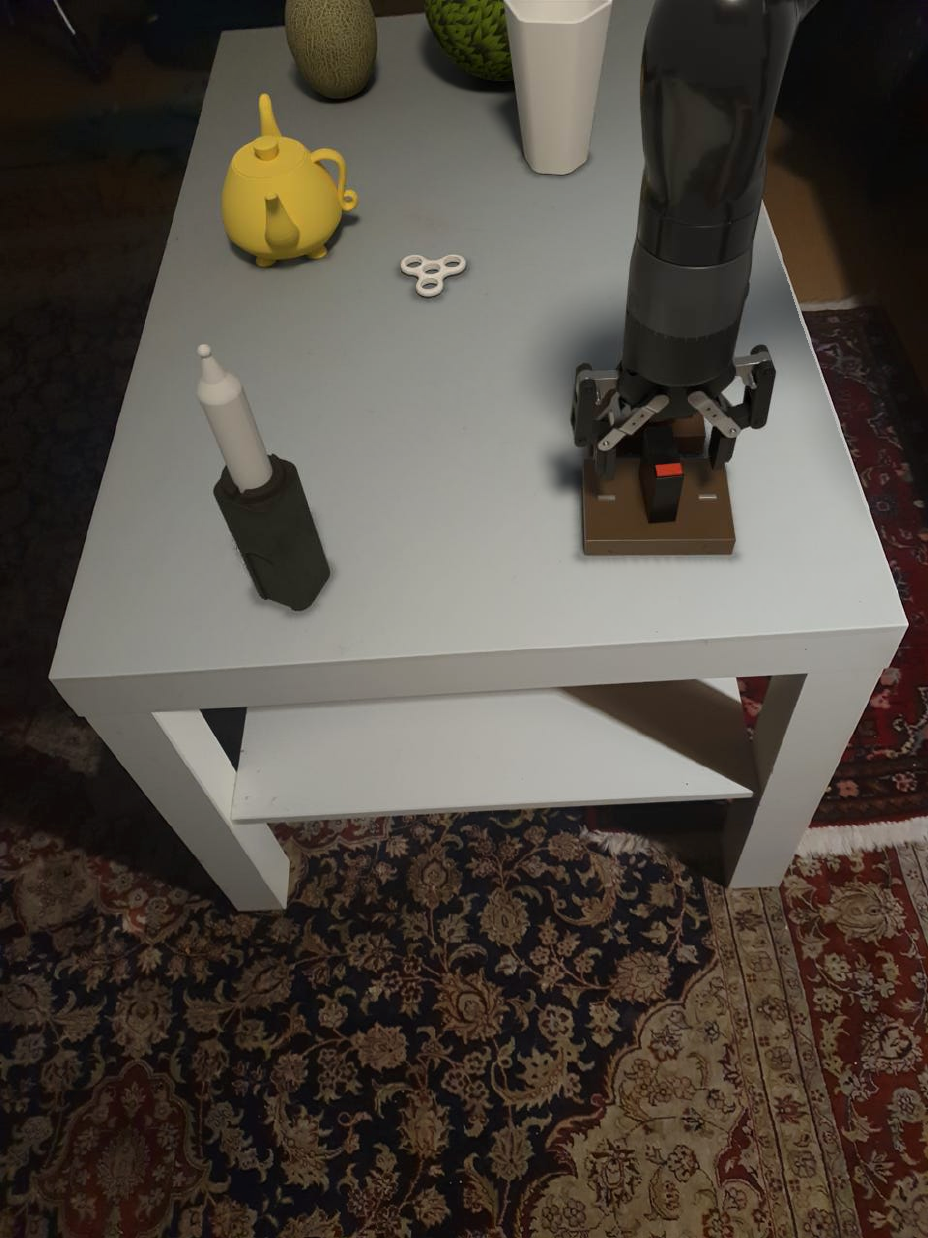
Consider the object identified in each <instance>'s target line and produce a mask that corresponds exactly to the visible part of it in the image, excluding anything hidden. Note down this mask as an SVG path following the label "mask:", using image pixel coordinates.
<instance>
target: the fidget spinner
mask: <svg viewBox="0 0 928 1238" xmlns="http://www.w3.org/2000/svg"><path fill="white" fill-rule="evenodd" d="M451 262H452V263H453V262H454V263H458V265H456V266H453V267H450V266H446V265H447V264H448V263H451ZM411 263H419V264H420V265H418V266H416V267H410V266H408V265H409V264H411ZM466 266H467V262H466V259H465V258H464V257H463V256H461V255H459V254H447V255H445V256H443V257H442V258H439V259H435V260H432V259H427V258H425V256H422V255H419V254H410V255H408V256H405V257H404V258H403V259H402V260H401V261H400V269H401V271H402V272H403V273H404V274H406V275H410V276H414V277H417V278H418V280H417V281H416V283H415V284H416V285H415V289H416V292H417V293H418V295H420V296H423V297H428V298H429V297H430V298H431V297H434V296H437V295H439V294H441V292H442V291H443V289H444V282H443V281H444V279H445V278H447V277H448V276H451V275H452V276H453V275H457V274H460V273H462V272H463V271H464V270H465V269H466ZM430 270H437V272H435V273H426V272H427V271H430ZM427 284H435V285H436V286H435V287H433V288H424V286H425V285H427Z"/></svg>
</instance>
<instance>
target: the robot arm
mask: <svg viewBox="0 0 928 1238" xmlns="http://www.w3.org/2000/svg"><path fill="white" fill-rule="evenodd" d="M819 2H820V0H655V1H654V3H653V5H652V8H651V11H650V13H649V16H648V20H647V24H646V27H645V32H644V36H643V37H644V38H643V44H642V51H641V60H640V70H639V113H640V114H639V115H640V126H641V128H640V129H641V143H642V152H643V157H644V165H643V170H642V175H641V176H642V177H641V182H640V183H641V184H640V192H639V203H638V213H637V225H636V233H635V240H634V244H633V248H632V251H631V256H630V261H629V268H628V280H627V281H628V282H627V294H626V305H625V315H624V316H625V317H624V326H623V327H624V328H623V339H622V340H623V341H622V352H621V357H620V360H619V362H618V363H617V364H616V366H615V368H614V369H604V370H594V369H593V366H592V365H591V364H590V363H588V362H582V363H580V364H578V365H577V366H576V368H575V372H574V373H575V374H574V382H573V390H572V391H573V392H572V398H571V399H572V400H571V401H572V402H571V408H570V418H569V421H570V426H571V429H572V434H573V442H574V446H576V447H577V448H585V447H587V446H589V444H592V445H594V454H593V455H592V459H593V460H594V465H595V470H596V473H597V474H598V475H603V477H604V481H612V480H614V471H615V459H617V457H616V456H617V455H616V446H615V445H616V444H617V443H618V442H619V441H620V440H621V439H622V438H623V437H624V436H625V435H626V434H628V435H632V434H633V433H634V432H635V431H636V430H638V429H639V428H640V427H641V426H642V425H643V424H644V423H645V422H646V421H647V420H648V419H650V422H658V421H663V420H666V419H670V418H677V419H687V418H693V415H694V414H697V413H699V412H700V413H701V414H702V415H703V416H704V419H706V420H707V421H708V422H709V424H710V425H711V426H712V427H711V432H710V437H709V442H708V447H707V456H708V457H709V460H710V464H711V467H712V470H718V469H722V468H723V465H724V463H725V464H726V463H729V462H730V461H731V460H732V459H733V455H734V450H735V446H736V442H737V438H738V436H739V435H740V434H741V432H742V431H743V430H744V429H747V428H751V429H752V430H760V429H762V428H764V427H765V426H766V425H767V423H768V419H769V413H770V407H771V402H772V396H773V391H774V386H775V380H776V376H777V370H776V367H775V364H774V361H773V359H772V356H771V354H770V351H769V348H768V346H767V345H766V344H763V343H762V344H757V345H755V346H753V347H752V348H751V350H750V353H749V354H747V355H740V356H735V351H736V347H737V342H738V337H739V333H740V327H741V323H742V319H743V313H744V309H745V304H746V301H747V299H748V297H749V294H750V288H751V283H750V281H751V275H752V269H753V259H754V258H753V257H754V255H753V254H754V242H755V237H756V231H757V227H758V223H759V217H760V212H761V207H762V203H763V197H764V193H765V186H766V180H767V173H768V171H767V170H768V156H767V144H768V140H769V137H770V131H771V127H772V123H773V118H774V114H775V110H776V105H777V101H778V97H779V95H780V94H779V93H780V90H781V86H782V83H783V82H782V81H783V78H784V74H785V71H786V66H787V63H788V60H789V56H790V52H791V50H792V47H793V43H794V42H795V41H794V40H795V37H796V35H797V32H798V28H799V26H800V24H801V23H802V22H803V20H804V19H805V18H806V16H807V15H808V14H809V13H810V11H812V10H813V8H814V7H815V6H816V5H817V4H818V3H819ZM736 377H740V378H741V382H742V384H743V385H744V391H743V397H742V402H741V403H739V404H735V405H733V404H732V402H730V400H729V399H728V398H727V397H726V396H725V395H724V394H723V391H725V389H727V388H728V387H729V386H730V385H731V384H732V383H733V382H734V380H735V378H736ZM614 388H616V390H617V392H616V393H615V394H614V395H613V396H612V398H611V400H610V404H609V406H608V407H607V408H606V409H605V410H604V411H603V412H602V413H601V414H600V415H599V416H598V417H597V418H596V419H595V420H594V412H595V405H596V404H597V405H599V404H601V403H602V399H603V398H604V397H605V395H606V393H607V392H608V391H609V390H611V389H614ZM630 406H631V407H632V408H633V410H632V411H631V409H630Z"/></svg>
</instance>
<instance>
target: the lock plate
mask: <svg viewBox="0 0 928 1238" xmlns="http://www.w3.org/2000/svg"><path fill="white" fill-rule="evenodd" d="M679 458H680V462H681V466H682V470H683V474H684V480H683V485H682V490H681V495H680V501H679V506H678V511H677V516H676V521H674V522H662V523H651V524H650V523H649V521H648V516H647V511H646V507H645V502H644V497H643V493H642V488H641V483H640V478H639V467H640V459H641V457H638V458H637V457H634V458H633V457H632V458H616V459H615V471H614V480H612V481H604V477H603V475H598V474H597V473H596V470H595V465H594V460H593V458H584V459H582V470H581V471H582V473H581V475H582V477H581V478H582V510H583V511H582V512H583V514H582V515H583V545H584V549H583V551H584V556H698V555H700V556H704V555H705V556H709V555H711V556H713V555H715V556H717V555H719V556H721V555H722V556H724V555H726V556H727V555H731V556H732V554H733V551H734V548H735V544H736V540H737V538H736V531H735V523H734V517H733V510H732V503H731V496H730V489H729V483H728V474H727V469H726V467H727V466H726V462H725V463H724V465H723V468H722V469H718V470H712V467H711V464H710V460H709V457H707V456H706V457H679Z"/></svg>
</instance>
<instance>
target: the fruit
mask: <svg viewBox="0 0 928 1238" xmlns="http://www.w3.org/2000/svg"><path fill="white" fill-rule="evenodd" d="M284 29H285V36H286V42H287V45H288V49H289V53H290V54H291V57H292V58H293V61H294V64H295V66H296V67H297V69H298V71H299V72H300V74H301V75H302V77H303V78H304V80H305V81H306V82H307V83H308V85H310V86H311V87H312V88H313V89H314V90H315V91H316V92H318V93H319V94H321V95H323V96H324V97H327V98H330V99H347V98H349V97H352V96H355V95H356V94H358V93H360V92H361V91H362V90H363V89H364V88H365V86H366V85H367V84H368V82H369V80H370V78H371V76H372V73H373V71H374V68H375V64H376V59H377V53H378V31H377V21H376V16H375V13H374V10H373V7H372V4H371V1H370V0H286V1H285V6H284Z"/></svg>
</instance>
